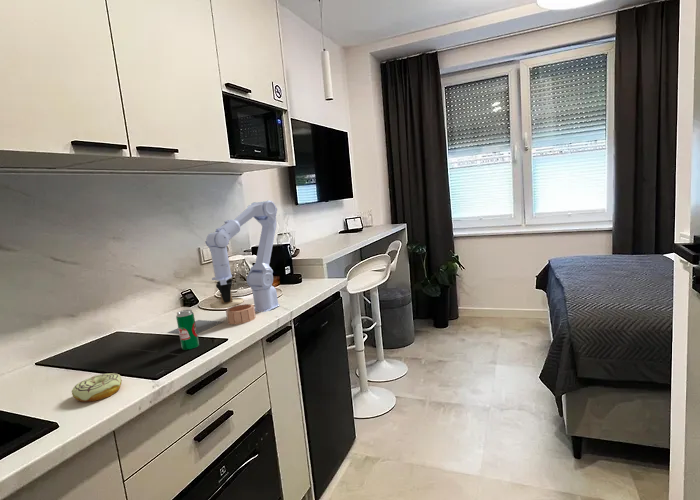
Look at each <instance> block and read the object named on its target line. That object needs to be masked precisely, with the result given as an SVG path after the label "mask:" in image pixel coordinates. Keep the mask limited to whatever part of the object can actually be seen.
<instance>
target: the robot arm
mask: <svg viewBox="0 0 700 500" xmlns="http://www.w3.org/2000/svg"><path fill="white" fill-rule="evenodd" d="M275 204H276V203H274V202H273V200H269V199H268V200H265V201H257V202H256V201H255V202H252V203H251V204H248V206H247V207H246V209H245V210H243V211H242V212H241V213H240V214H239V215H238V216H236V218H235V219H226V220H225V221H224V223H223V224H222V225H221V226H220V227H216V228H215V231H214V232H210V233H208V234H207V236H206V240H205V241H204V244H206V247H208V248H209V252H210V257H211V260H212V267H213V272H214V277H212V278H211V280H212V281H216V284H215V287H216V288H217V290H218V291H219V293H220V295H222V298H223V301H224V303H225V302H230V299H231V294H232V291H231V289H232V285H233V274H232V271H231V266H230V265H231V264H230V260H229V253H228V245H229V242H230V240H232V238H234V237H235V236H236V235H237V234H238V233H239V232H240V231H241V227H242V226H243V225H244V224H246V223H248V221H250V220H252V218H253V219H255V221H256V222H258V224H260V225H261V231H260V232H261V234H260V237H259V242H258V248H257V251H256V252H257V254H256V259H255V263H254V264H253V265H252V266H251V267H250V268H249V269H250V270H249V272H248V274H247V275H246V284H247V285H248V286H249V287H250V289H251V290H252V297H253V305H254V309H255V313H257V312H258V313H259V312H261V313H266V312H269V311H272V310H274V309H277V308H278V307H280V306H281V304H279V300H278V293H277V289H276V287H275V286H273V283H274V275H273V273H274V270H273V269H272V267H271V266H270V263H271V257H272V252H273V246H274V241H275V235H276V231H277V214H278V208H277V207H276V205H275ZM230 293H231V294H230Z"/></svg>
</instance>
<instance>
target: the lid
mask: <svg viewBox="0 0 700 500" xmlns="http://www.w3.org/2000/svg"><path fill="white" fill-rule="evenodd" d="M230 294H231V299H230V302H225V303H224V301H223V298H222V295H221V294H220V295H219V297H220V300H216V301H213V302H211V303H210V305H209V307H210V309H226V308H227V309H228V308H231V307H233V306H237V305H242V304H244V301H245V299H244V298H242V297H233V295H232V292H231V293H230Z"/></svg>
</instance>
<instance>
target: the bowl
mask: <svg viewBox="0 0 700 500" xmlns="http://www.w3.org/2000/svg"><path fill="white" fill-rule="evenodd" d="M225 315H226V321H227V323H228V325H241V324H246V323H249V322H251V321H254V320H255V319H256V318H257V317H256V316H257V315H256V311H255V305H254V304H252V303H250V304H249V303H242V304H239V305H236V306H232V307H227V309H226V310H225Z"/></svg>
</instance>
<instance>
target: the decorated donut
mask: <svg viewBox="0 0 700 500" xmlns="http://www.w3.org/2000/svg"><path fill="white" fill-rule="evenodd" d="M122 381H123V380H122V375H120V374H118V373H115V372H113V373H101V374H96V375H94V376H91V377H89V378H86V379H84V380H82V381H80V382H78V383H77V384H75V385H74V387H73V388H72V389H71V395H72V397H73V398H74V399H75V400H76V401H78V402H81V403H85V402H86V403H87V402H91V403H93V402H96V401H100V400H103V399H107V398H110V397H112V396H113V395H114V394H116V393H117V392H118V391H120V388H121V385H122Z"/></svg>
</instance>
